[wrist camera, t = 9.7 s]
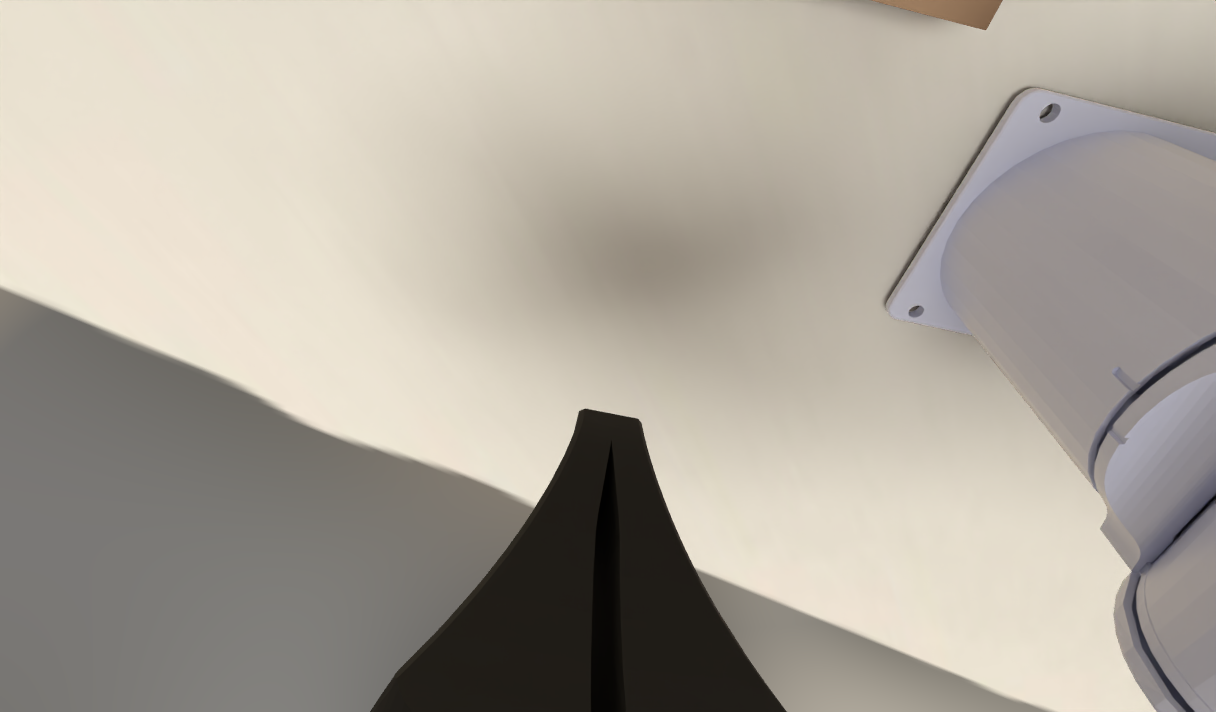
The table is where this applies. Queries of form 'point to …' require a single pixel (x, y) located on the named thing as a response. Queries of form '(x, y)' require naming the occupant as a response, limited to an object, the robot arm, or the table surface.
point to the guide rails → (952, 10)
